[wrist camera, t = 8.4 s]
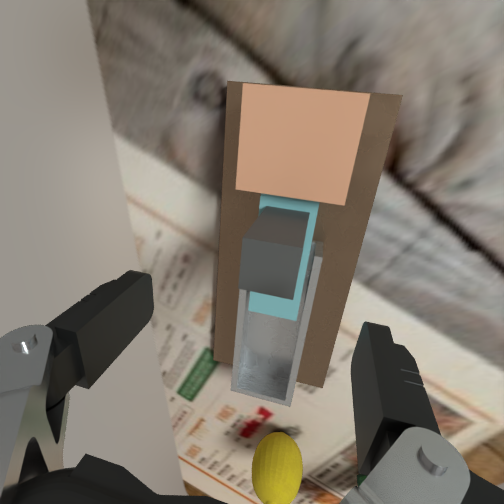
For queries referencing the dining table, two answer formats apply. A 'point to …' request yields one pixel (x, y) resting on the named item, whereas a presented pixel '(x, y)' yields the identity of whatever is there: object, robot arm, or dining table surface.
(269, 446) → the lemon
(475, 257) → the dining table surface
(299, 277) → the slide bar
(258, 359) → the channel
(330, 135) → the tan hollow block
